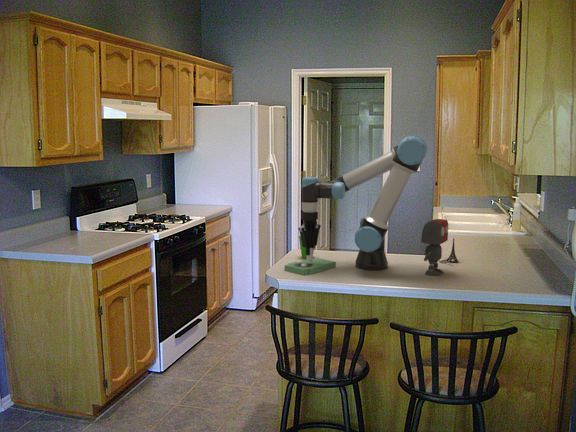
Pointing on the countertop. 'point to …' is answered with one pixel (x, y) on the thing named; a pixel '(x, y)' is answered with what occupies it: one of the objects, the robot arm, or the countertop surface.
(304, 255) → the cup
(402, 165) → the robot arm
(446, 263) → the eiffel tower figurine
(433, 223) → the toy robot
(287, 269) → the green flat slab
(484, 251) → the countertop surface
